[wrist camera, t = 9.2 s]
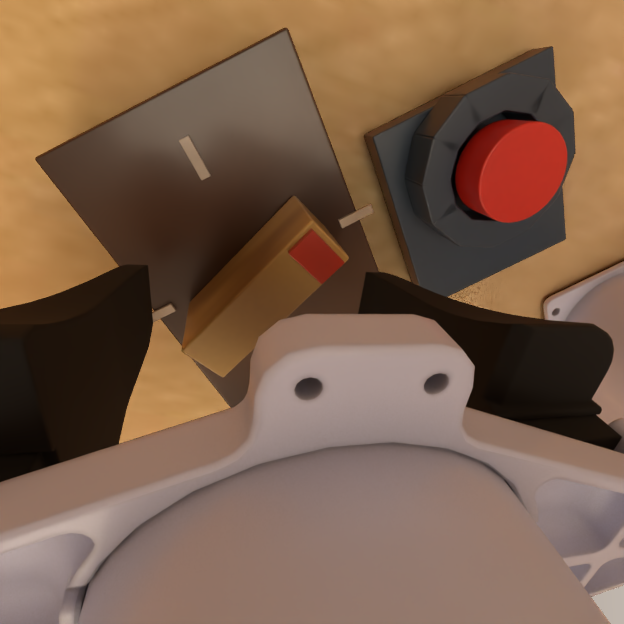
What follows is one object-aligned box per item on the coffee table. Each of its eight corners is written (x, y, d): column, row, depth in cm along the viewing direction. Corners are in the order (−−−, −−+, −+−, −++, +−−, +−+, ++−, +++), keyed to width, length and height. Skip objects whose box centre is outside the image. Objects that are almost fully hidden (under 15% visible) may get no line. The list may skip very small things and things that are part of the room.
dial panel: (390, 301, 21) (415, 331, 18) (224, 382, 21) (225, 423, 19) (290, 31, 14) (305, 15, 12) (52, 155, 15) (13, 167, 12)
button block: (549, 232, 21) (595, 251, 18) (416, 297, 21) (443, 324, 19) (532, 42, 16) (590, 31, 14) (361, 128, 17) (386, 134, 14)
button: (539, 189, 17) (571, 198, 15) (463, 226, 17) (487, 238, 15) (530, 102, 15) (565, 102, 13) (445, 145, 15) (470, 150, 13)
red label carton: (223, 327, 16) (223, 383, 13) (188, 302, 16) (179, 356, 12) (325, 226, 15) (353, 261, 12) (293, 194, 14) (314, 221, 11)
